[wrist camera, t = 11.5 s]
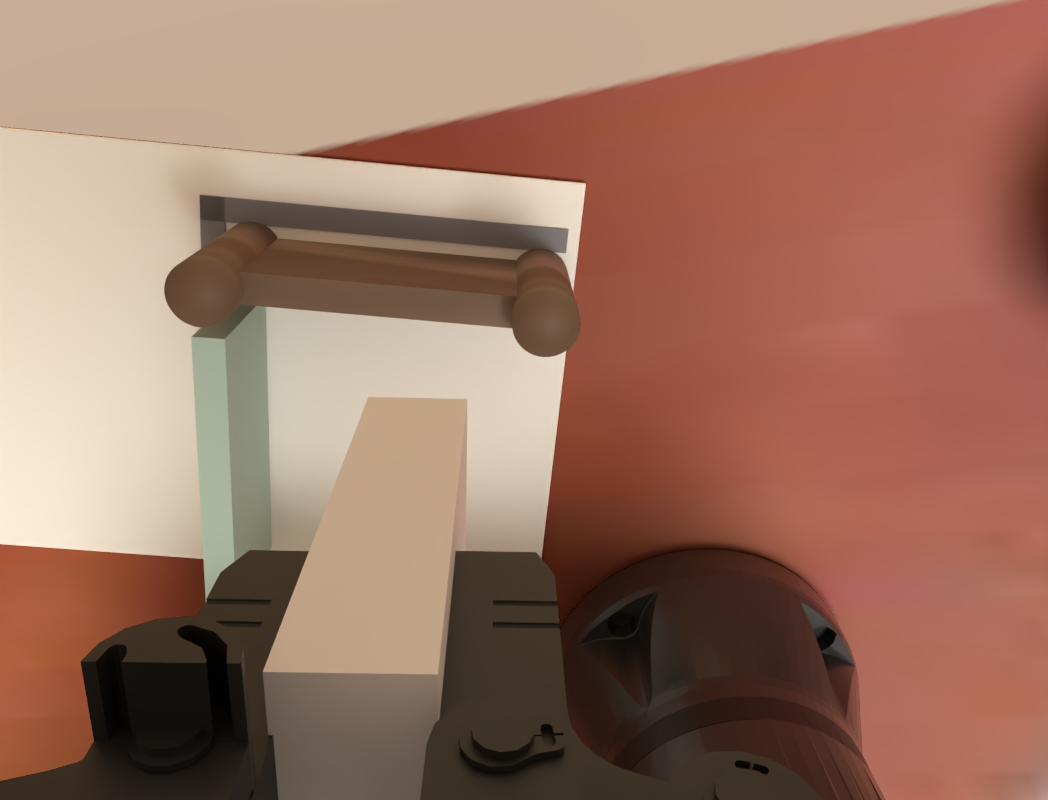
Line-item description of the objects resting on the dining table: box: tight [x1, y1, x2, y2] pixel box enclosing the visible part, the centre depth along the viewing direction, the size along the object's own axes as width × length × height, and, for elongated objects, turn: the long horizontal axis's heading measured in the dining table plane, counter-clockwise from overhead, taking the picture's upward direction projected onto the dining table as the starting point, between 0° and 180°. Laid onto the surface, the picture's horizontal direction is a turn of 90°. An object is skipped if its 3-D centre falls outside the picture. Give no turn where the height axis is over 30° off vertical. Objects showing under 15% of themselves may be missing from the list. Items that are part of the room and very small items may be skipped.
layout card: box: [0, 127, 586, 559], centre depth 41 cm, size 19×30×1 cm, turn 84°
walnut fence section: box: [164, 222, 581, 357], centre depth 36 cm, size 2×14×8 cm, turn 84°
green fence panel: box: [191, 305, 272, 599], centre depth 38 cm, size 1×12×6 cm, turn 176°
